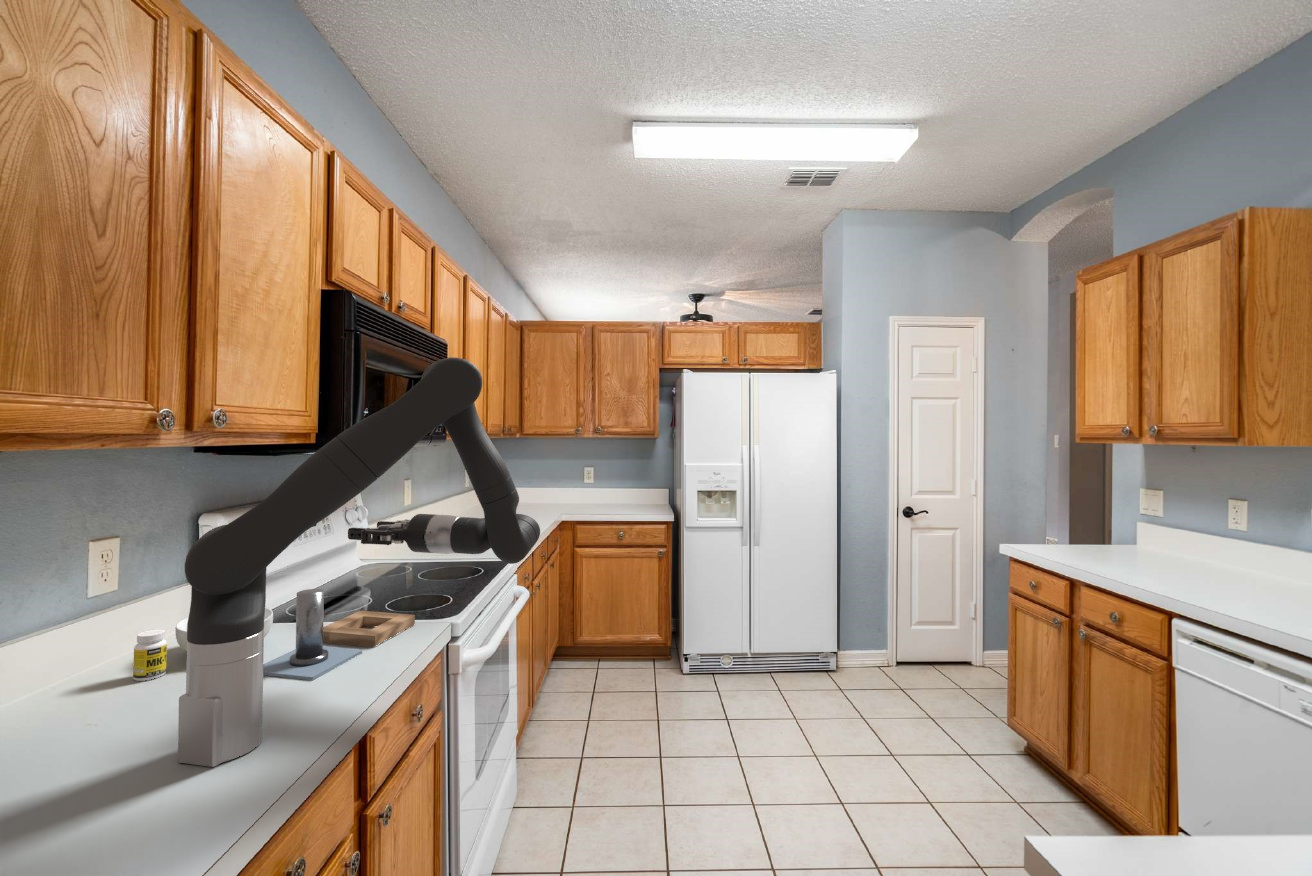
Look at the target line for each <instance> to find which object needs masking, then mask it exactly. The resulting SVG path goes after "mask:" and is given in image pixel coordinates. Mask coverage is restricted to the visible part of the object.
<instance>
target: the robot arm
mask: <svg viewBox="0 0 1312 876" xmlns="http://www.w3.org/2000/svg"><path fill="white" fill-rule="evenodd" d="M482 388H483V376H482V374H481V370H480V369H479V368H478V367H477V365H475V363H473V362H471V361H469V360H467V359H464V358H460V357H447V358H446V357H445V358H442V359H440V360H439V359H438V360H436V361H434V362H432V363H430V364H429V365H428V366H427V367H426V368H425V369H424V371H423V373H422V375H421V378H420V380H419V381H418V382H416V384H415V385H414V386H412V387H411V388H410V389H409V390H408V391H407V392H406V393H404V394H403V395H402V396H401V397H399V398H398V399H397V400H395V401H394V402H392V403H391V404H389V405H387V406H386V407H383V408H382V409H380V410H378V411H376V412H374V413H372V414H371V415H368V416H367V417H365V418H363V419H361V420H360V421H358V422H356V423H355V424H353V425H351V426H349V427H348V428H347V429H345V430H343V431H342V432H340V433H338V434H337V436H335V437H333V438H332V439H331V440H329V441H328V442H327V443H325V444H324V445H323V446H322V447H320V448H319V449H318V450H316V451H315V452H314V453H313V454H311V455H310V456H309V457H308V458H307V459H306V460H305V461H303V462H302V463H301V464H300V465H299V466H298V467H297V468H295V470H294V471H293V472H291V473H290V475H288V476H287V478H285V480H283V481H282V482H281V484H280V485H279V486H278V487H276V489H274V491H273V492H271V493H270V494H269V495H268V496H267V497H266V498H265V499H263V500H262V501H261V502H260V503H258V504H257V505H255V506H253V507H252V508H250V509H249V510H247V511H246V512H244V513H243V514H242V515H239V517H237V518H235V519H234V520H232V521H230V522H229V523H227V524H224V525H223V524H222V525H219V526H217V527H213V528H212V529H210V530H208V531H206V532H205V533H204V534H203V535H202V536H201V537H200V538H199V539H197V541H195V542H194V544H193V545H192V546H191V548H190V549H189V551H188V552H187V554H186V557H185V561H184V574H185V578H186V581H187V583H188V584H189V585H190V587H191V599H190V607H189V614H188V617H189V618H188V617H187V618H188V623H187V651H186V667H185V670H186V672H185V673H186V675H185V678H186V679H185V681H186V682H185V693H184V694H181V695H180V696H179V698H178V724H177V725H178V726H177V728H178V730H177V733H178V734H177V738H178V739H177V762H178V763H182V764H189V765H196V766H203V767H209V768H214V767H216V766H218V765H220V764H221V763H225V762H228V761H231V760H233V759H237V758H239V756H240V757H242V756H244V755H246V754H248V753H250V752H251V751H253V750H254V749H255V747H256V748H257V747H258V746H259V745H260V744H261V743H262V740H263V712H264V711H263V704H264V702H263V701H264V700H263V699H264V697H263V696H264V695H263V693H264V675H263V664H264V647H265V645H264V644H265V643H264V640H265V637H264V616H265V608H266V603H267V601H266V600H267V599H266V598H267V596H266V595H267V593H266V590H267V567H268V566H270V564H271V563H272V562H273V561H274V560H275V559H276V558H277V557H279V556H280V555H281V553H282V552H283V551H285V550H286V549H287V548H288V547H289V546H290V545H291V544H292V543H294V541H296V540H297V539H299V537H300V536H302V535H303V534H304V533H305V532H307V531H308V530H310V528H313V527H314V526H315V525H317V524H319V523H320V522H321V521H323V520H324V519H326V518H327V517H329V516H330V515H332V514H333V513H335V512H336V511H338V510H339V509H340V508H341V507H343V506H344V505H346V504H347V503H348V502H351V500H352V499H354V498H355V497H357V496H358V495H360V493H362V492H363V491H364V490H366V489H367V488H368V487H369V486H371V485H373V483H374V482H376V481H377V480H378V479H380V478H381V477H382V476H383V475H384V474H385V473H386V472H387V471H388V470H390V469H391V468H392V467H393V466H394V465H395V464H397V463H398V462H399V461H400V460H401V459H402V458H403V457H404V456H406V454H407V453H408V452H409V451H411V450H412V449H413V448H414V447H415V446H417V444H418V443H419V442H420V441H421V440H422V439H424V438H425V436H427V435H428V434H430V433H431V432H433V430H435V429H436V428H437V427H439V426H441V425H443V426H444V428H445V430H446V431H447V433H448V436H449V437H450V439H451V441H452V443H453V444H454V447H455V449H456V452H457V453H458V455H459V457H460V460H461V462H462V465H463V467H464V469H465V472H466V474H467V476H468V478H469V481H470V484H471V485H472V489H473V490H474V492H475V495H476V497H477V500H478V502H479V503H480V505H481V508H482V510H483V517H481V518H479V517H465V516H455V515H450V514H436V513H435V514H434V513H433V514H431V513H418V514H415V515H414V516H412V517H411V519H403V520H396V521H387V520H386V521H383V520H380V521H378V522H376V527H366V528H365V527H349V528H348V529H347V538H348V540H357V541H360V544H362V545H380V546H381V545H385V546H390V545H392V544H397V545H400V544H404V542H405V543H406V545H407V547H408V548H409V550H410V551H412V552H413V553H423V554H424V553H425V554H441V555H449V554H450V555H451V554H464V555H466V554H467V555H480V554H483V553H485V552H487V551H489V550H490V549H491V550H492V552H493V553H494V555H495V556H496V557H497V558H498V560H500V561H502V562H504V563H505V564H508V565H509V564H510V565H513V564H518V563H520V562H522V560H524V559H525V558H526V557H527V556H528V555H529V553H530V552H531V550H532V549H533V547H534V546H535V545H536V543H538V541H539V539H540V536H541V527H540V525H539V523H538V522H537V521H536V519H534V518H533V517H532V516H529V515H527V514H522V513H517V508H518V506H519V503H520V495H519V493H518V489H517V488H516V485H515V482H514V480H513V478H512V475H511V473H510V471H509V469H508V466H507V465H506V462H505V461H504V459H503V458H502V456H501V454H500V452H499V451H498V449H497V448H496V446H495V444H493V442H492V440H491V438H490V437H489V435H488V433H487V431H486V430H485V428H484V425H483V424H482V421H481V419H480V416H479V414H478V411H477V407H476V404H475V403H476V401H477V399H479V396H480V395H481V392H482Z"/></svg>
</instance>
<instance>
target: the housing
mask: <svg viewBox="0 0 1312 876" xmlns="http://www.w3.org/2000/svg"><path fill="white" fill-rule="evenodd" d="M414 624H415V625H416V615H415V614H407V613H393V612H381V611H373V610H372V611H370V610H369V611H368V610H359V611H357V612H354V613H351V614H350V615H348V616H345V617H343V618H341V619H339V620H336V621H334V622H332V623H329V624H327V625H325V626H323V643H325V642H327V643H328V644H337V645H346V644H350V645H349V646H356V647H357V646H360V647H367V646H376V645H378V644H379V643H381V642H383V641H384V640H386V639H389V638H390V637H392V638H394V637H395V636H394V635H396V634H397V633H399V632H401V633H403V632H404V631H403V630H405V629H407V628H409V627H410V628H412V627H414V626H415V625H414ZM413 625H414V626H413ZM362 626H363V627H366V626H377V627H372V628H363V627H362ZM411 626H412V627H411ZM410 628H409V629H410ZM407 630H408V629H407ZM402 631H403V632H402ZM405 631H406V630H405ZM393 636H394V637H393ZM396 636H397V635H396ZM389 640H390V639H389ZM383 643H384V642H383ZM378 646H379V645H378ZM376 647H377V646H376Z"/></svg>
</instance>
